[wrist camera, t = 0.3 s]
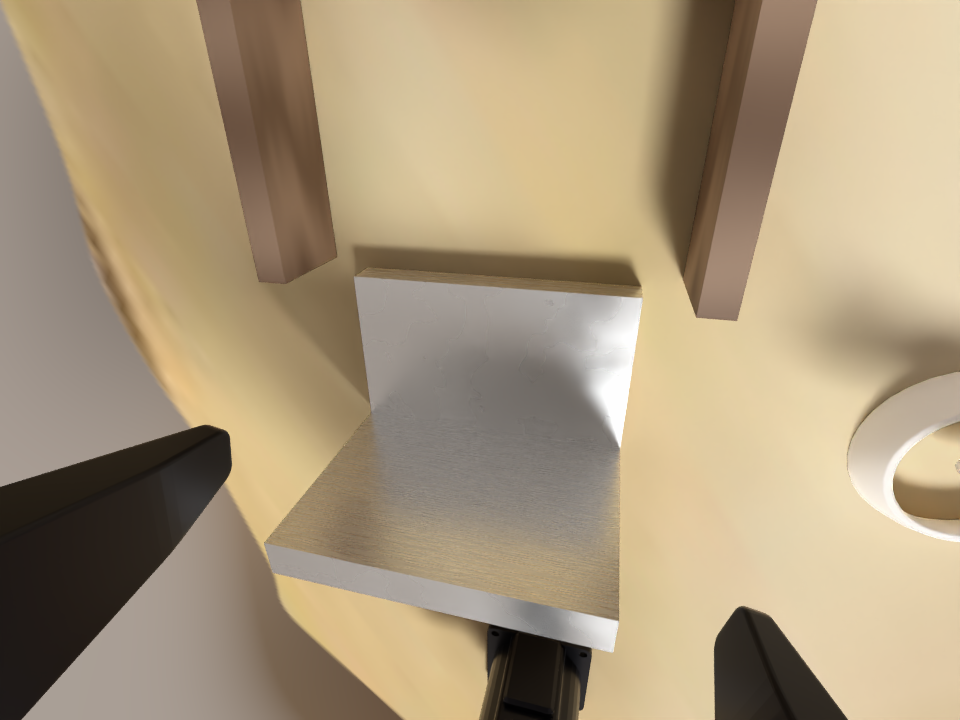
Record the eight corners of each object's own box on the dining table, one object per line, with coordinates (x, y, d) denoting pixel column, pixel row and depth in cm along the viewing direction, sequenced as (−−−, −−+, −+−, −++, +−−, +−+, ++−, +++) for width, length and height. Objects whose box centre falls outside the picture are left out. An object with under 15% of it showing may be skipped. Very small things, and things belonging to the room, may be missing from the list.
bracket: (616, 454, 24) (613, 653, 15) (386, 420, 26) (272, 572, 18) (641, 286, 20) (656, 423, 11) (369, 266, 22) (211, 365, 14)
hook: (726, 585, 19) (903, 595, 13) (835, 380, 24) (1002, 312, 17) (889, 732, 18) (1170, 824, 12) (967, 487, 23) (1194, 457, 17)
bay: (715, 281, 19) (736, 320, 15) (313, 255, 23) (258, 281, 19) (798, -93, 14) (856, -159, 10) (264, -44, 18) (178, -80, 14)
